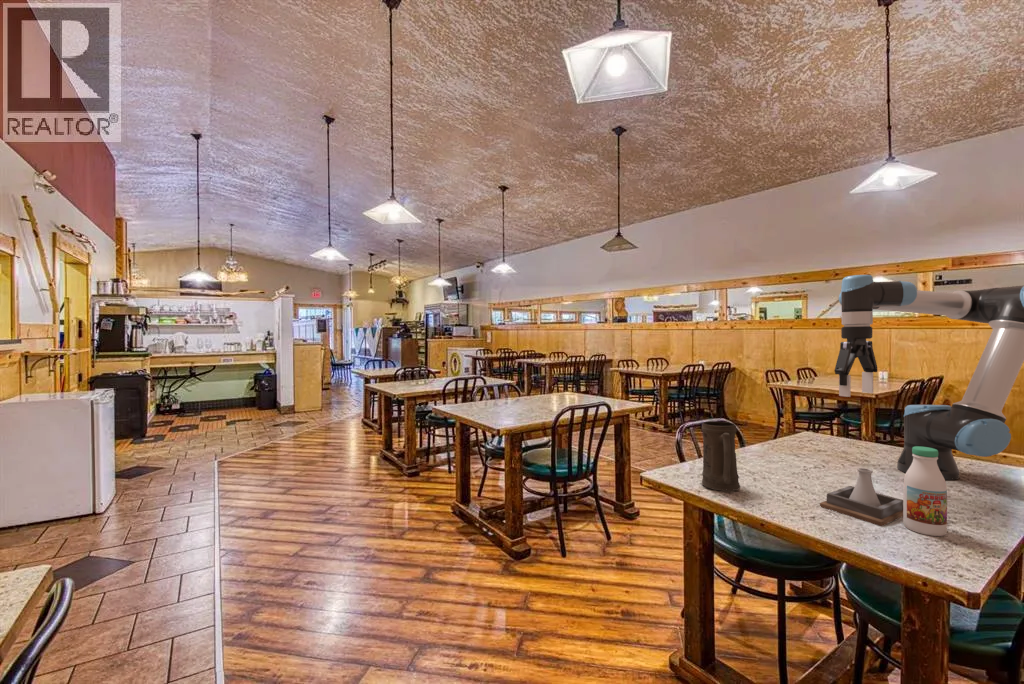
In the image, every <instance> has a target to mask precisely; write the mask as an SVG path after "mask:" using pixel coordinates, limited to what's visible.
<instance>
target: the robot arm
mask: <svg viewBox="0 0 1024 684" xmlns="http://www.w3.org/2000/svg"><path fill="white" fill-rule="evenodd" d="M838 301H839V304H840V306H841V315H840V319H841V325H842V327H841V329H840V330H841V334H840V335H841V339H842V340H843V339H845V340H846V341H840V344H839V345H840V347H839V352H838V356H837V359H836V364H835V367H834V371H833V372H834V374H835V375H838V396H839V397H845V398H846V397H847V398H848V397H849V398H851V395H852V394H851V392H852V391H851V388H852V387H851V381H852V380H851V378H852V376H851V374H850V372H851V369H852V367H853V365H854V363H855V360H856V359H857V358H858V361H859V363H860V366H861V367H862V370H863V371H862V372H861V393H865V394H866V393H867V394H874V373H878V365H877V360H876V355H875V353H874V348H873V341H872V340H871V339H872V338H873V327H872V326H871V325H873V324H874V321H873V320H874V318H873V317H874V316H873V310H878V311H890V312H900V313H901V312H902V313H912V314H913V313H914V314H927V315H936V316H937V315H939V316H946V317H947V318H949V319H951V320H960V321H967V322H976V323H982V324H988V326H990V328H991V329H992V331H991V333H990V336H989V338H988V341H987V342H986V345H985V347H984V349H983V351H982V354H981V356H980V358H979V360H978V362H977V365H976V367H975V370H974V372H973V374H972V376H971V379H970V381H969V383H968V385H967V388H966V390H965V393H964V394H963V396H962V399H961V400H959V401H956V402H953V403H952V405H946V404H908V405H906V406H905V407H904V414H903V441H904V442H903V449H902V451H901V453H900V455H899V457H898V459H897V462H896V463H897V464H896V466H897V467H896V468H897V470H899V471H901V472H903V473H905V474H906V472H907V470H908V469H909V467H910V466H911V464H912V462H913V456H912V454H913V453H912V448H913V447H915V446H921V447H929V448H933V449H936V450H938V459H937V465H938V467H939V470H940V472H941V473H942V475H943V477H944V479H945V481H947V480H949V481H952V480H957V479H959V478H960V470H959V467H958V465H957V462H956V460H955V457H954V455H953V450H954V451H957V452H961V453H963V454H966V455H970V456H976V457H984V458H985V457H986V458H987V457H992V456H995V455H998V454H1000V453H1002V452H1003V451H1004V450H1005V449H1007V447H1008V446H1009V445H1010V442H1011V441H1012V440H1011V439H1012V434H1011V433H1010V431H1011V429H1010V428H1009V426H1008V425H1007V424H1006V420H1007V417H1006V416H1005V415H1004V413H1003V412H1002V411H1003V408H1004V407H1005V405H1006V404H1005V403H1006V402H1007V399H1008V397H1009V395H1010V393H1011V391H1012V389H1013V386H1014V385H1015V383H1016V379H1017V378H1018V375H1019V373H1020V371H1021V368H1022V366H1023V365H1024V285H1016V286H1013V285H1012V286H1003V287H992V288H986V289H985V288H983V289H976V290H975V289H974V290H963V289H962V290H960V289H959V290H954V291H952V292H945V291H934V290H933V291H932V290H920V289H918V288H917V287H916V285H915V284H914V283H913V282H911V281H904V280H903V281H902V280H897V281H896V280H895V281H874V278H873V276H872V275H871V274H855V275H847V276H845V277H843V278H842V280H841V290H840V293H839V295H838ZM869 339H870V340H869Z"/></svg>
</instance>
